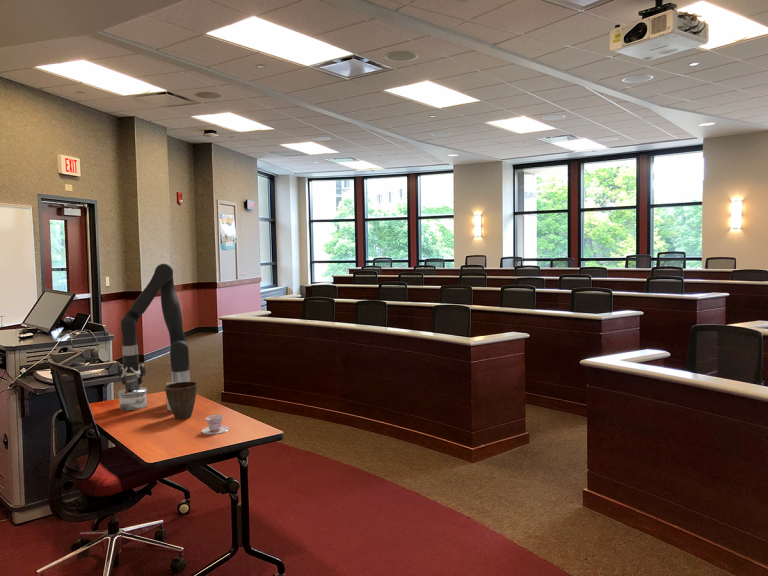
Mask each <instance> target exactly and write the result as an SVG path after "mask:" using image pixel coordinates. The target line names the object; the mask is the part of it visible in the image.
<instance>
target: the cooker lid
mask: <svg viewBox="0 0 768 576" xmlns="http://www.w3.org/2000/svg"><path fill="white" fill-rule="evenodd" d="M140 385H141V384H140ZM140 385H138V378H133V379H131V380H129V381H126V383H125V385H124V386H125V388H124V389H119V391H118V393H117V396H119V395H120V396H133V395H139V394H143V393H146V392H148V388H147V387H144V386H143V387H142V386H140ZM146 394H147V393H146Z"/></svg>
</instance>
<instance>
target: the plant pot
mask: <svg viewBox="0 0 768 576" xmlns="http://www.w3.org/2000/svg"><path fill="white" fill-rule="evenodd" d="M197 389H198V383H197V382H195V381H190V382H179V383H173V384H169V385H165V386H164V391H165V393H166V394H165V396H166V400H167V399H168V402H169V405H170V408H171V410H172V411H171V412H172V415H173V417H174V419H175V420H185V419H189V418H191V417H192V414H193V411H194V408H195V403H196V400H197V399H196V398H197V391H198V390H197Z"/></svg>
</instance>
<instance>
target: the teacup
mask: <svg viewBox="0 0 768 576" xmlns="http://www.w3.org/2000/svg"><path fill="white" fill-rule="evenodd" d="M223 419H224V415H222V414H211V415H208V416H206V417H205V421H206V423H207V424H208V426H207V427H205V428H203V429H202V430H201V434H203V435H208V436H209V435H211V436H212V435H219V434H223V433H226V432H228V431H229V430H230V427H229V426H226V425H222V422H223Z"/></svg>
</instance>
